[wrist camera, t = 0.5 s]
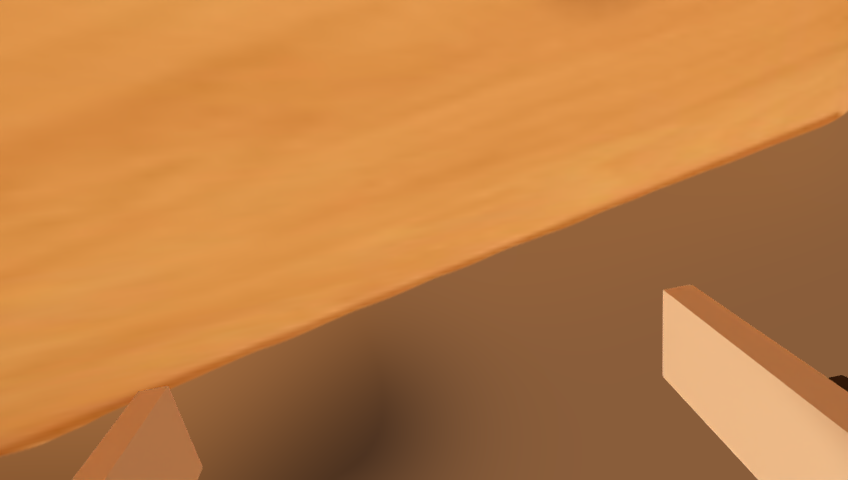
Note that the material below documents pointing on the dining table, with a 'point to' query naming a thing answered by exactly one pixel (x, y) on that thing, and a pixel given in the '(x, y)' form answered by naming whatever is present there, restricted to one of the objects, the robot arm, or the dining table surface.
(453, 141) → the dining table surface
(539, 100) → the dining table surface
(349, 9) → the dining table surface
